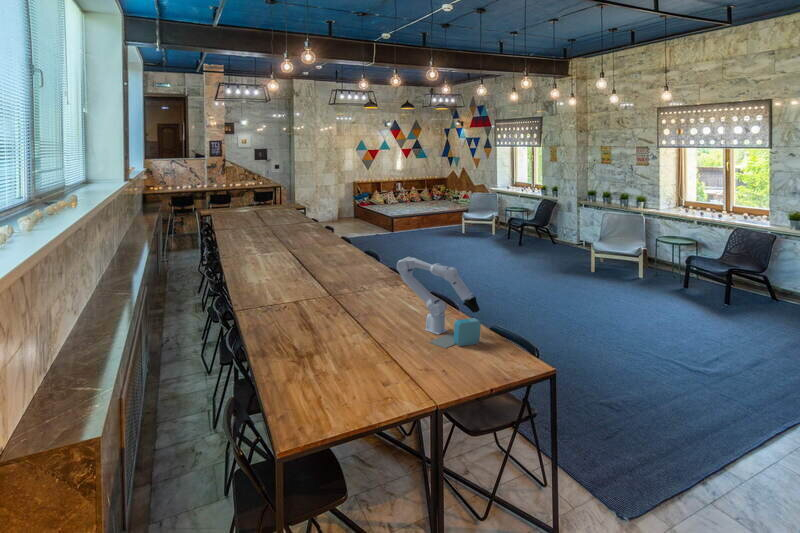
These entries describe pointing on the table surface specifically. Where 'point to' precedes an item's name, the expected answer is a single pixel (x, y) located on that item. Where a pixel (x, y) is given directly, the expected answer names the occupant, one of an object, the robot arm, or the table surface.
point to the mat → (444, 341)
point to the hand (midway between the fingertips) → (476, 311)
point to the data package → (467, 332)
